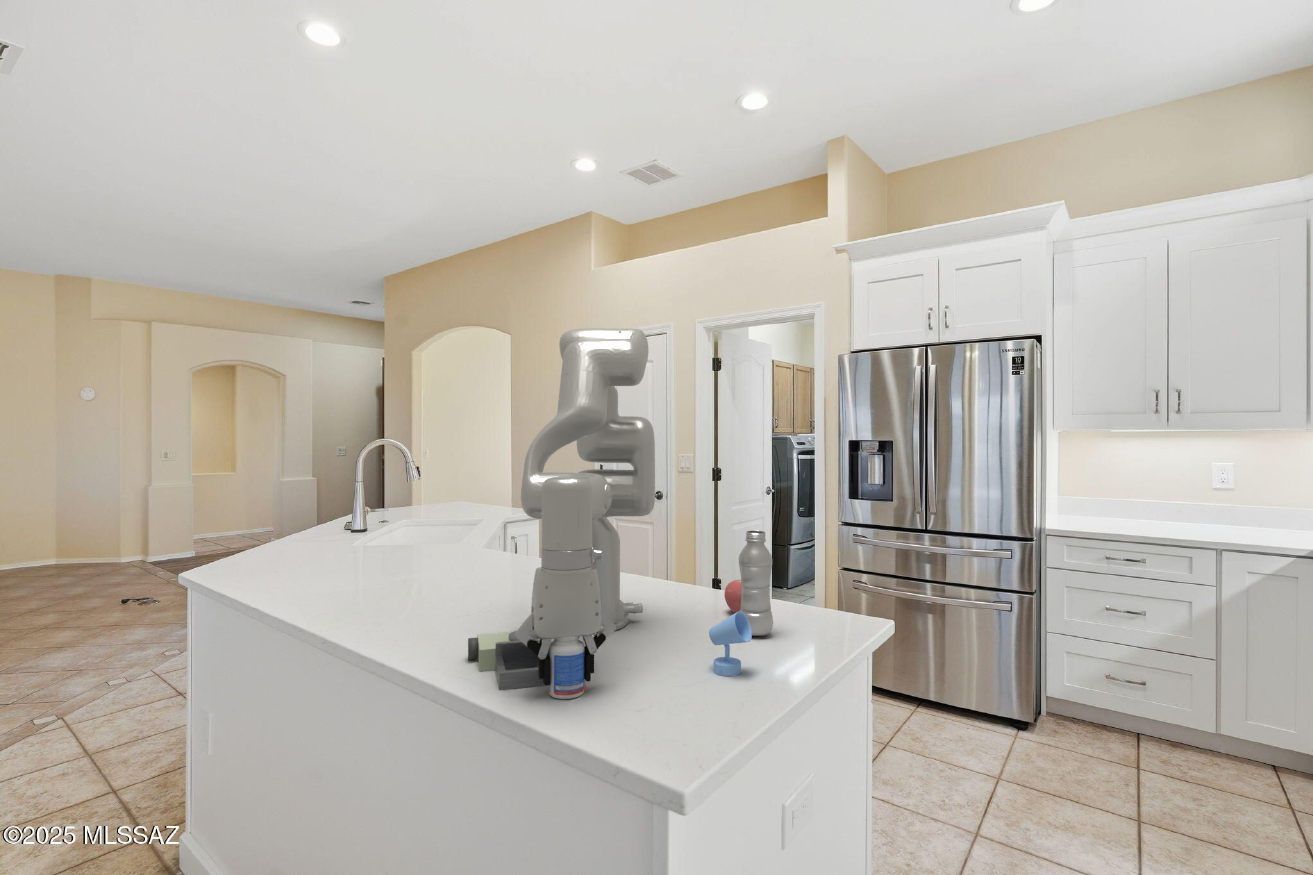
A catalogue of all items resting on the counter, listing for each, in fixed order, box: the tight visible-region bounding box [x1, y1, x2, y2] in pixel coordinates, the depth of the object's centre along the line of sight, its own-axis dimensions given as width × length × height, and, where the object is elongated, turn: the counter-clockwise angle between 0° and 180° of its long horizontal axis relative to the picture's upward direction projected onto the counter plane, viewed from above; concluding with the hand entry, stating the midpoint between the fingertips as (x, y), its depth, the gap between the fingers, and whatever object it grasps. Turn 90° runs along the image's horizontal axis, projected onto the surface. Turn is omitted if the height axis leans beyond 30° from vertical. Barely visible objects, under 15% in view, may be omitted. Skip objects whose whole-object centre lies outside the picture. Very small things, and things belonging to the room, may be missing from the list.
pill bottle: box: [547, 636, 586, 700], centre depth 98 cm, size 6×5×10 cm
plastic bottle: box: [738, 530, 774, 637], centre depth 127 cm, size 6×7×20 cm
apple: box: [724, 579, 742, 614], centre depth 143 cm, size 7×7×8 cm
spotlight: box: [708, 611, 753, 677], centre depth 107 cm, size 5×10×7 cm
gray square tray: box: [494, 639, 545, 691], centre depth 105 cm, size 9×9×4 cm
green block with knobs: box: [467, 629, 555, 672], centre depth 113 cm, size 17×9×4 cm, turn 107°
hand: (566, 679), depth 98 cm, fingers closed on pill bottle, 5 cm apart
